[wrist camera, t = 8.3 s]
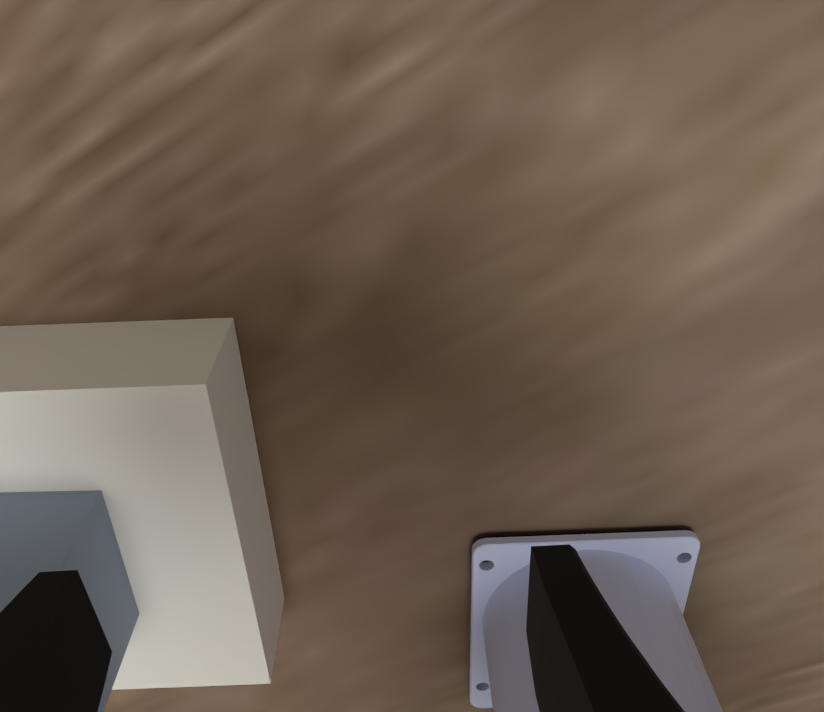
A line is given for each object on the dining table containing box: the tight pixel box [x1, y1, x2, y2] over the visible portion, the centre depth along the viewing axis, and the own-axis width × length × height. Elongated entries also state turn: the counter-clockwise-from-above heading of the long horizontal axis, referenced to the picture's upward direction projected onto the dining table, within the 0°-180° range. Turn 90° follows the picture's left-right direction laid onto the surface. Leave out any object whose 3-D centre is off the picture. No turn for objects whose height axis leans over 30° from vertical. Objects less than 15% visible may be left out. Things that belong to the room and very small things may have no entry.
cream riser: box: [0, 318, 285, 690], centre depth 22 cm, size 12×12×4 cm
